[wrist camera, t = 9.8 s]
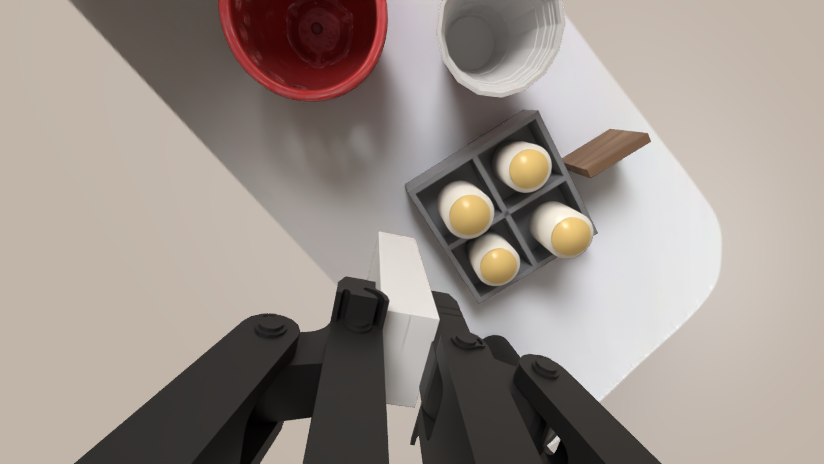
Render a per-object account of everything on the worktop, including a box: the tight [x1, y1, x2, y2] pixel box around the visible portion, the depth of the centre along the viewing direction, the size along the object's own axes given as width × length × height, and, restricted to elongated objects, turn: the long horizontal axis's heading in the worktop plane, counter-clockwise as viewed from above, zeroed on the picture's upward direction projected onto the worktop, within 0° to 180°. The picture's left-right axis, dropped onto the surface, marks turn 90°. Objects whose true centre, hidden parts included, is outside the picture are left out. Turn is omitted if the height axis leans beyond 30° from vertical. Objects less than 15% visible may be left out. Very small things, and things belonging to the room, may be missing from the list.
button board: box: [405, 110, 598, 303], centre depth 48 cm, size 16×16×4 cm
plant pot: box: [218, 0, 388, 102], centre depth 38 cm, size 13×13×12 cm
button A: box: [437, 180, 494, 239], centre depth 43 cm, size 5×5×5 cm
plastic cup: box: [437, 0, 565, 98], centre depth 39 cm, size 11×11×12 cm
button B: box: [491, 140, 552, 193], centre depth 45 cm, size 5×5×5 cm
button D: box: [529, 201, 594, 259], centre depth 45 cm, size 5×5×5 cm
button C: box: [466, 230, 520, 286], centre depth 48 cm, size 5×5×5 cm
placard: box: [562, 129, 651, 178], centre depth 46 cm, size 1×7×7 cm, turn 122°
